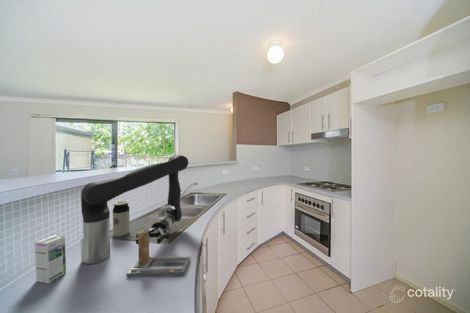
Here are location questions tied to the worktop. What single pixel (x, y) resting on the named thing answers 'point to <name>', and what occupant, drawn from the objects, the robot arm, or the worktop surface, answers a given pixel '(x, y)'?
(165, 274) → the grey slider track base
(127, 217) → the labelled jar
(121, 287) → the worktop surface
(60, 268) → the syrup box
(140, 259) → the fader tab
